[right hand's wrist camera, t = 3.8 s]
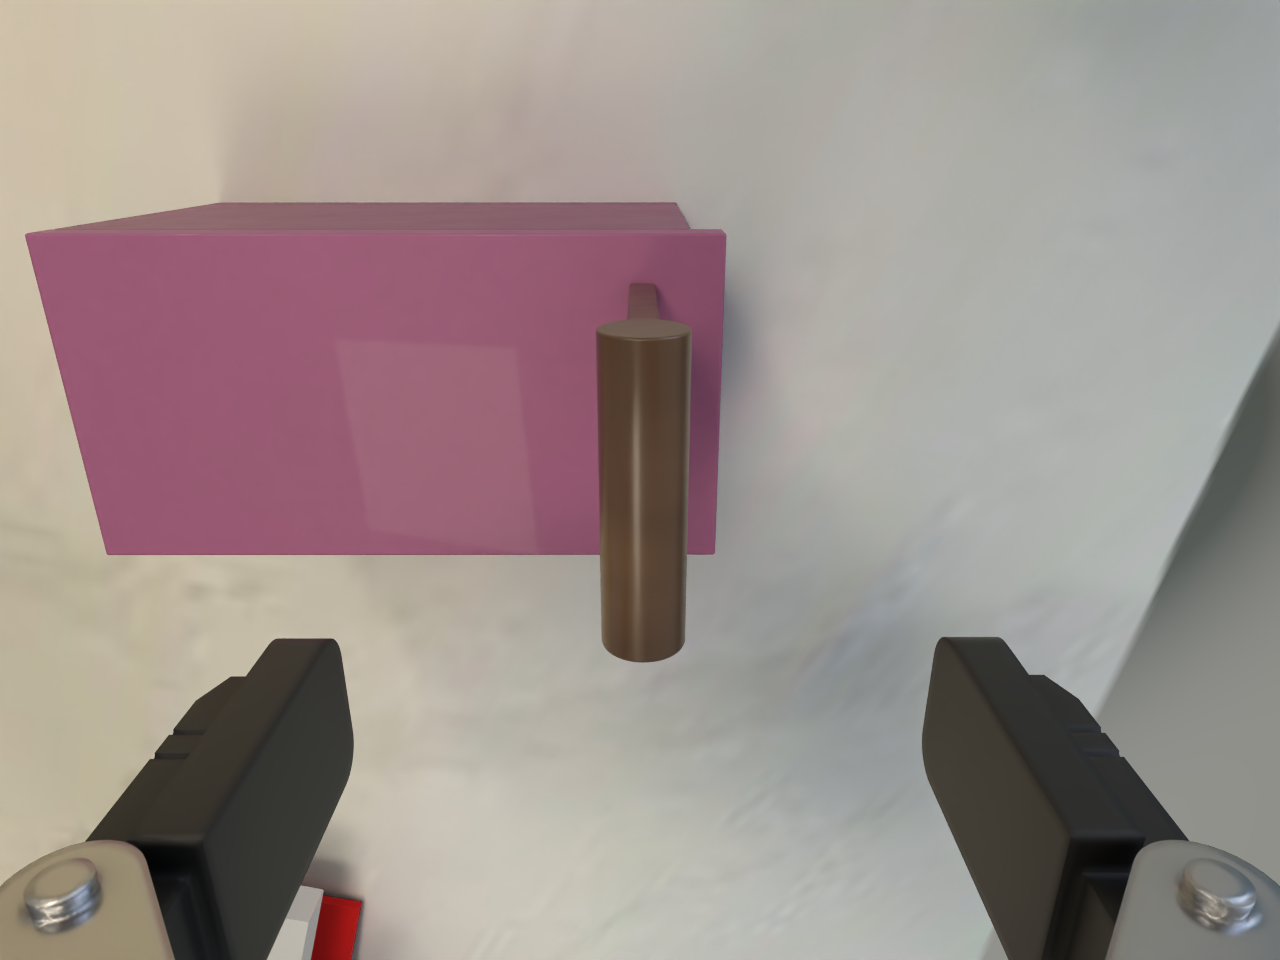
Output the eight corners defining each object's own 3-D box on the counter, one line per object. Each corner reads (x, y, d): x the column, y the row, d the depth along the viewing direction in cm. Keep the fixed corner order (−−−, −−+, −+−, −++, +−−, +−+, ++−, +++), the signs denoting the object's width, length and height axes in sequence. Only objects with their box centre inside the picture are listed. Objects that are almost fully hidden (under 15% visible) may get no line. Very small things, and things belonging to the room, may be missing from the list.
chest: (676, 202, 33) (691, 229, 23) (673, 435, 36) (685, 539, 27) (218, 202, 33) (50, 229, 23) (259, 435, 36) (126, 539, 27)
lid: (722, 229, 23) (765, 276, 16) (712, 539, 27) (742, 706, 19) (49, 229, 23) (-250, 277, 16) (125, 540, 27) (-87, 707, 19)
